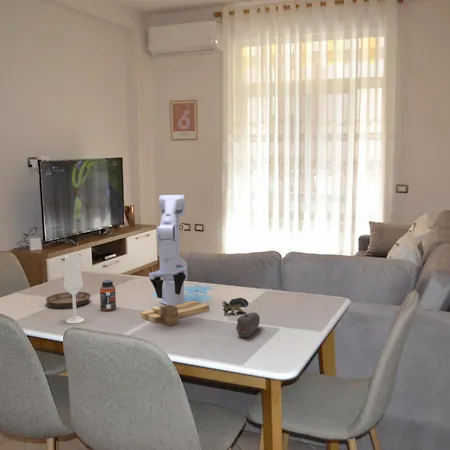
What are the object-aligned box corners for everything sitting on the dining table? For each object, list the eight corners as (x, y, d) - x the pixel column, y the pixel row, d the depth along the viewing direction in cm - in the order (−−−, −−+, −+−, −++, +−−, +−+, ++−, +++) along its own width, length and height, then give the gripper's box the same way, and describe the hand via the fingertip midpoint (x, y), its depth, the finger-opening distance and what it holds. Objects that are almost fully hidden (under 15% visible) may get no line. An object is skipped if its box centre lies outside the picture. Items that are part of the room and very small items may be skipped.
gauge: (149, 318, 207) (148, 302, 206) (158, 315, 209) (158, 300, 208) (170, 326, 196) (169, 310, 195) (179, 324, 198) (179, 307, 198)
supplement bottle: (112, 311, 215) (111, 283, 214) (98, 311, 216) (96, 282, 215) (118, 307, 221) (117, 279, 219) (104, 307, 222) (103, 279, 221)
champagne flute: (65, 324, 201) (62, 258, 198) (65, 318, 207) (62, 254, 204) (85, 322, 203) (81, 256, 199) (84, 317, 209) (81, 253, 206)
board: (141, 317, 207) (140, 312, 207) (193, 305, 222) (193, 300, 222) (155, 323, 200) (155, 318, 199) (209, 310, 215) (209, 305, 214)
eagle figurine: (229, 316, 203) (251, 308, 206) (222, 298, 206) (244, 291, 209) (225, 322, 210) (246, 314, 213) (218, 304, 212) (239, 297, 215)
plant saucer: (36, 308, 223) (36, 300, 222) (62, 297, 239) (61, 290, 239) (75, 311, 217) (75, 303, 217) (99, 299, 234) (98, 292, 234)
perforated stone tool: (251, 326, 195) (251, 306, 195) (265, 328, 193) (265, 308, 192) (232, 339, 182) (232, 318, 181) (246, 341, 180) (246, 320, 179)
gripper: (156, 262, 189) (157, 301, 191) (191, 257, 198) (192, 294, 200) (145, 259, 195) (146, 297, 196) (179, 254, 204) (180, 290, 205)
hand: (168, 296), depth 199 cm, fingers open, 7 cm apart
